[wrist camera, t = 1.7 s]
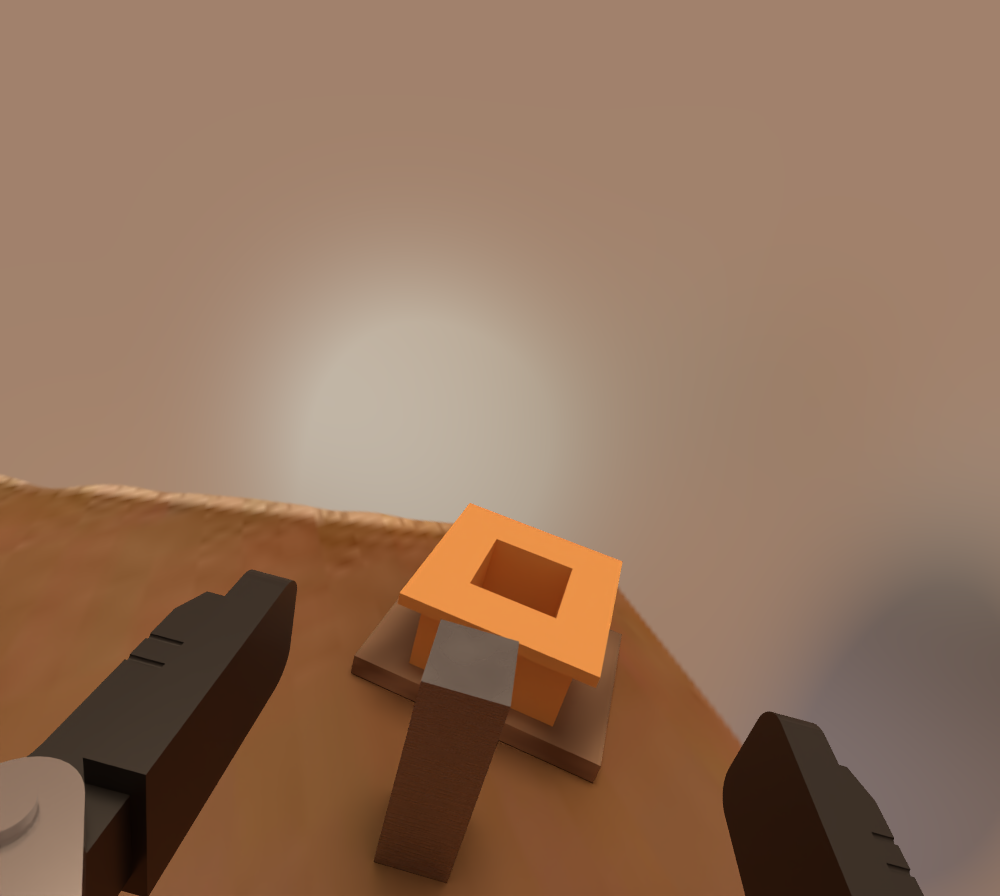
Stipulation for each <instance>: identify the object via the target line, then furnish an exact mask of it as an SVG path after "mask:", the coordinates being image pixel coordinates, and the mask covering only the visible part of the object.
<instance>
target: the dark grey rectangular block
mask: <svg viewBox="0 0 1000 896" xmlns="http://www.w3.org/2000/svg"><path fill="white" fill-rule="evenodd" d="M518 647H519V641H516V640H512V639H509V638H505V637H502V636H498V635H495V634H491V633H488V632H484V631H481V630H477V629H474V628H470V627H467V626H463V625H460V624H456V623H453V622H449V621H446V620H442V619H441V621H440V624H439V627H438V630H437V633H436V636H435V639H434V642H433V645H432V648H431V651H430V655H429V658H428V661H427V664H426V667H425V670H424V673H423V676H422V679H421V683H420V686H419V690H418V694H417V698H416V702H415V706H414V709H413V713H412V717H411V721H410V725H409V728H408V732H407V736H406V740H405V744H404V748H403V751H402V755H401V759H400V763H399V767H398V770H397V774H396V778H395V782H394V786H393V790H392V793H391V797H390V801H389V805H388V809H387V812H386V816H385V820H384V824H383V828H382V832H381V835H380V839H379V843H378V847H377V851H376V854H375V858H374V862H377V863H380V864H384V865H387V866H390V867H394V868H397V869H401V870H404V871H408V872H411V873H414V874H418V875H421V876H425V877H428V878H432V879H435V880H438V881H442V882H445V883H447V881H448V879H449V876H450V873H451V870H452V868H453V865H454V862H455V859H456V856H457V854H458V851H459V848H460V845H461V843H462V840H463V837H464V834H465V832H466V829H467V826H468V823H469V820H470V818H471V815H472V812H473V809H474V807H475V804H476V801H477V798H478V796H479V793H480V790H481V787H482V785H483V782H484V779H485V776H486V773H487V771H488V768H489V765H490V762H491V760H492V757H493V754H494V751H495V749H496V746H497V743H498V740H499V738H500V735H501V732H502V729H503V726H504V724H505V721H506V718H507V715H508V713H509V710H510V707H511V700H512V692H513V685H514V677H515V670H516V662H517V655H518Z"/></svg>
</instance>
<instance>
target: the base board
mask: <svg viewBox="0 0 1000 896" xmlns="http://www.w3.org/2000/svg"><path fill="white" fill-rule="evenodd" d="M398 599H399V598H398ZM397 603H398V600H397V601H396V602H395V604H394V605H393V606H392V608H391V609H390V610H389V611H388V613H387V614H386V615H385V617H384V618H383V619H382V620H381V622H380V623H379V624H378V626H377V627H376V628H375V629H374V631H373V632H372V633H371V635H370V636H369V637H368V639H367V640H366V641H365V642H364V644H363V645H362V646H361V648H360V649H359V650H358V651H357V653H356V654H355V655H354V660H353V665H352V671H351V673H353V674H355V675H357V676H359V677H361V678H364V679H366V680H368V681H370V682H372V683H375V684H377V685H379V686H381V687H383V688H386V689H388V690H390V691H392V692H394V693H397V694H399V695H401V696H403V697H405V698H408V699H410V700H412V701H414V702H416V698H417V694H418V690H419V686H420V683H421V679H422V676H423V673H424V669H421V668H419V667H417V666H415V665H412V664H410V663H409V661H410V657H411V653H412V649H413V645H414V641H415V637H416V633H417V629H418V624H419V620H420V616H421V614H420V613H418V612H416V611H413V610H411V609H409V608H406V607H404V606H402V605H399V604H397ZM621 636H622V634H620V633H617V632H615V631H613V630H610V629H609V635H608V640H607V645H606V650H605V656H604V661H603V666H602V671H601V676H600V679H599V682H598V684H597V686H596V688H594V687H592V686H590V685H587V684H585V683H583V682H580V681H578V680H575V679H573V678H572V681H571V683H570V686H569V688H568V691H567V693H566V695H565V698H564V700H563V703H562V705H561V708H560V710H559V712H558V715H557V717H556V720H555V722H554V724H553V727H552V726H550V725H548V724H545V723H543V722H541V721H539V720H536V719H534V718H532V717H530V716H527V715H525V714H523V713H521V712H518V711H516V710H514V709H512V708H510V710H509V713H508V715H507V718H506V721H505V724H504V726H503V729H502V732H501V735H500V738H499V740H500V741H502V742H504V743H506V744H509V745H511V746H513V747H515V748H517V749H520V750H522V751H524V752H526V753H528V754H531V755H533V756H535V757H537V758H539V759H542V760H544V761H546V762H548V763H550V764H553V765H555V766H557V767H559V768H561V769H564V770H566V771H568V772H570V773H572V774H574V775H577V776H579V777H581V778H583V779H585V780H588V781H590V782H592V783H593V781H594V779H595V777H596V775H597V773H598V771H599V769H600V767H601V762H602V755H603V749H604V743H605V736H606V730H607V724H608V718H609V711H610V705H611V699H612V692H613V686H614V680H615V673H616V667H617V661H618V655H619V648H620V642H621Z"/></svg>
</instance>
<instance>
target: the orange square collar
mask: <svg viewBox="0 0 1000 896" xmlns="http://www.w3.org/2000/svg"><path fill="white" fill-rule="evenodd" d="M621 567H622V561H620V560H617V559H614V558H612V557H609V556H606V555H604V554H601V553H599V552H596V551H593V550H591V549H588V548H586V547H583V546H580V545H578V544H575V543H573V542H570V541H567V540H565V539H562V538H560V537H557V536H554V535H552V534H549V533H546V532H544V531H541V530H539V529H536V528H534V527H531V526H528V525H526V524H523V523H520V522H518V521H515V520H513V519H510V518H507V517H505V516H502V515H499V514H497V513H494V512H492V511H489V510H487V509H484V508H481V507H479V506H476V505H474V504H471V503H470V504H469V505H468V506H467V508H466V509H465V510H464V511H463V513H462V514H461V515H460V517H459V518H458V519H457V521H456V522H455V523H454V524H453V525H452V527H451V528H450V529H449V531H448V532H447V533H446V534H445V536H444V537H443V538H442V540H441V541H440V542H439V543H438V545H437V546H436V547H435V548H434V550H433V551H432V552H431V554H430V555H429V556H428V557H427V559H426V560H425V561H424V563H423V564H422V565H421V566H420V568H419V569H418V570H417V572H416V573H415V574H414V575H413V577H412V578H411V579H410V580H409V582H408V583H407V584H406V586H405V587H404V588H403V589H402V591H401V592H400V594H399V599H398V603H397V604H399V605H402V606H404V607H406V608H409V609H411V610H413V611H416V612H418V613H420V614H421V616H420V620H419V624H418V629H417V633H416V637H415V641H414V645H413V649H412V653H411V657H410V661H409V663H410V664H412V665H415V666H417V667H419V668H421V669H424V670H425V667H426V664H427V661H428V658H429V655H430V651H431V648H432V645H433V642H434V639H435V636H436V633H437V630H438V627H439V624H440V621H441V619H442V620H446V621H449V622H453V623H456V624H460V625H463V626H467V627H470V628H474V629H477V630H481V631H484V632H488V633H491V634H495V635H498V636H502V637H505V638H509V639H512V640H516V641H519V647H518V655H517V662H516V670H515V677H514V685H513V692H512V700H511V707H510V708H512V709H514V710H516V711H518V712H521V713H523V714H525V715H527V716H530V717H532V718H534V719H536V720H539V721H541V722H543V723H545V724H548V725H550V726H552V727H553V724H554V722H555V720H556V717H557V715H558V712H559V710H560V708H561V705H562V703H563V700H564V698H565V695H566V693H567V691H568V688H569V686H570V683H571V681H572V678H573V679H575V680H578V681H580V682H583V683H585V684H587V685H590V686H592V687H594V688H596V686H597V684H598V682H599V679H600V676H601V671H602V666H603V661H604V656H605V650H606V645H607V640H608V635H609V629H610V624H611V619H612V614H613V608H614V603H615V598H616V593H617V588H618V582H619V577H620V572H621Z"/></svg>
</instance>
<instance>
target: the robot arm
mask: <svg viewBox="0 0 1000 896" xmlns="http://www.w3.org/2000/svg"><path fill="white" fill-rule="evenodd" d="M296 593H297V585H296V582H295V581H293V580H289V579H286V578H282V577H278V576H274V575H271V574H267V573H263V572H260V571H256V570H249V571H248V572H246V573H245V574H244V575H243V576H242V577H241V578H240V580H239V581H238V582H237V583H236V584H235V585H234V586H233V587H232V589H231V590H230V591H229V592H228V593H227V594H226V595H225V596H222V595H218V594H214V593H211V592H205V593H203V594H202V595H200V596H198V597H196V598H194V599H192V600H190V601H188V602H186V603H185V604H183V605H181V606H179V607H177V608H175V609H174V610H173V611H172V612H171V613H170V614H169V615H168V616H167V617H166V618H165V619H164V620H163V621H162V622H161V623H160V624H159V625H158V626H157V627H156V628H155V629H154V630H153V631H152V632H151V634H150V637H149V638H148V639H147V638H145V639H144V640H143V641H142V642H141V643H140V645H139V646H138V647H137V648H136V649H135V650H134V651H133V652H132V653H131V654H130V657H129V658H128V660H124V661H123V662H122V663H121V664H120V665H119V666H118V667H117V668H116V669H115V670H114V671H113V672H112V673H111V674H110V675H109V676H108V677H107V678H106V679H105V680H104V681H103V682H102V683H101V684H100V685H99V686H98V687H97V688H96V689H95V690H94V691H93V692H92V693H91V695H90V696H89V697H88V698H87V699H86V700H85V701H84V702H83V703H82V704H81V705H80V706H79V707H78V708H77V709H76V710H75V711H74V712H73V713H72V714H71V715H70V716H69V717H68V718H67V719H66V720H65V721H64V722H63V723H62V724H61V725H60V726H59V727H58V728H57V729H56V730H55V731H54V732H53V733H52V734H51V735H50V736H49V737H48V738H47V739H46V740H45V741H44V742H43V743H42V744H41V745H40V746H39V747H38V748H37V749H36V750H35V751H34V752H33V753H31V754H30V755H29V756H27V757H24V758H19V759H13V760H10V761H6V762H3V763H0V896H118V895H119V893H120V892H121V891H124V892H128V893H132V894H135V895H139V896H149V895H150V893H151V891H152V890H153V888H154V886H155V885H156V883H157V882H158V880H159V878H160V877H161V875H162V873H163V872H164V870H165V868H166V867H167V865H168V863H169V862H170V860H171V859H172V857H173V855H174V854H175V852H176V850H177V849H178V847H179V845H180V844H181V842H182V841H183V839H184V837H185V836H186V834H187V832H188V831H189V829H190V827H191V826H192V824H193V822H194V821H195V819H196V818H197V816H198V814H199V813H200V811H201V809H202V808H203V806H204V804H205V803H206V801H207V800H208V798H209V796H210V795H211V793H212V791H213V790H214V788H215V786H216V785H217V783H218V781H219V780H220V778H221V777H222V775H223V773H224V772H225V770H226V768H227V767H228V765H229V763H230V762H231V760H232V758H233V757H234V755H235V754H236V752H237V750H238V749H239V747H240V745H241V744H242V742H243V740H244V739H245V737H246V736H247V734H248V732H249V731H250V729H251V727H252V726H253V724H254V722H255V721H256V719H257V717H258V716H259V714H260V713H261V711H262V709H263V708H264V706H265V704H266V703H267V701H268V699H269V698H270V696H271V695H272V693H273V691H274V690H275V688H276V686H277V684H278V682H279V680H280V678H281V676H282V673H283V671H284V668H285V665H286V662H287V659H288V655H289V650H290V643H291V634H292V626H293V618H294V610H295V601H296ZM723 808H724V813H725V818H726V822H727V825H728V829H729V833H730V837H731V841H732V845H733V849H734V853H735V857H736V861H737V865H738V869H739V872H740V876H741V880H742V884H743V888H744V892H745V896H924V895H923V893H922V891H921V889H920V887H919V885H918V884H917V881H916V879H915V878H914V877H911V876H910V873H909V871H910V868H909V866H908V864H907V862H906V860H905V858H904V856H903V854H902V852H901V850H900V848H899V846H898V845H895V844H894V841H893V840H894V837H893V835H892V833H891V831H890V829H889V827H888V825H887V823H886V821H885V819H884V818H883V815H882V813H881V811H880V809H879V807H878V806H877V804H876V802H875V800H874V799H873V798H872V797H871V796H870V794H869V793H868V792H867V791H866V790H865V789H864V787H863V786H862V785H861V784H860V782H859V781H858V780H857V779H856V778H855V777H854V775H853V774H852V773H851V772H850V770H849V769H848V768H847V767H844V766H841V765H839V764H838V762H837V760H836V758H835V756H834V754H833V752H832V750H831V747H830V745H829V743H828V741H827V739H826V737H825V735H824V733H823V732H822V730H821V729H820V728H819V727H818V726H817V725H816V724H814V723H810V722H807V721H803V720H799V719H795V718H791V717H788V716H784V715H780V714H777V713H774V712H765V713H763V714H762V715H761V716H760V717H759V719H758V721H757V722H756V724H755V725H754V727H753V729H752V731H751V732H750V734H749V735H748V737H747V739H746V741H745V742H744V744H743V746H742V747H741V749H740V751H739V752H738V754H737V756H736V757H735V759H734V761H733V763H732V764H731V766H730V768H729V769H728V771H727V774H726V777H725V781H724V786H723Z"/></svg>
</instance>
